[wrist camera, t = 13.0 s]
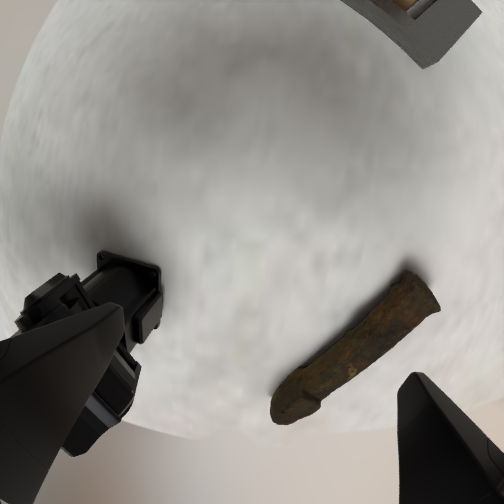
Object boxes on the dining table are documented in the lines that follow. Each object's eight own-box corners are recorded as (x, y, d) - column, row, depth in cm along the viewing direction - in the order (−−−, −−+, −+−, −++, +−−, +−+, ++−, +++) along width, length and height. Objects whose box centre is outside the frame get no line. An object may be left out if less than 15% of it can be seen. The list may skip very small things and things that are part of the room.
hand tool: (404, 258, 19) (428, 287, 15) (429, 287, 19) (452, 318, 15) (252, 384, 26) (245, 419, 22) (281, 400, 27) (277, 434, 22)
